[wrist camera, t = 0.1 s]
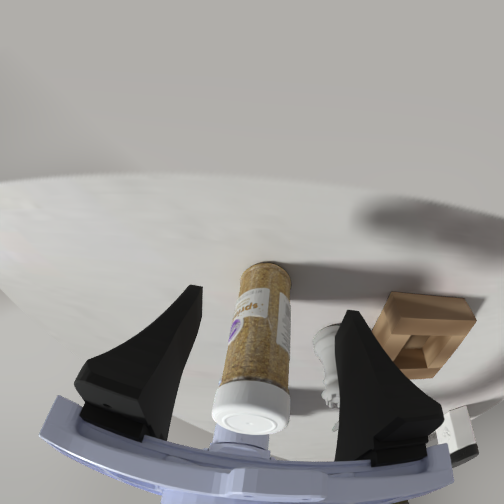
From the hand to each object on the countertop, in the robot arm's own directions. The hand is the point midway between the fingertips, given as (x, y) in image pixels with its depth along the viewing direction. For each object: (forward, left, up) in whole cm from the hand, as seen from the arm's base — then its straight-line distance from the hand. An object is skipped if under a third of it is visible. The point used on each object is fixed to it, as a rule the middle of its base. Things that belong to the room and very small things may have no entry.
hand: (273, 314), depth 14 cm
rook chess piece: (-12, -8, -10) cm, 18 cm away
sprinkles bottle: (-6, 0, -10) cm, 12 cm away
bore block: (-10, -17, -10) cm, 22 cm away
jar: (-37, -44, -10) cm, 58 cm away
